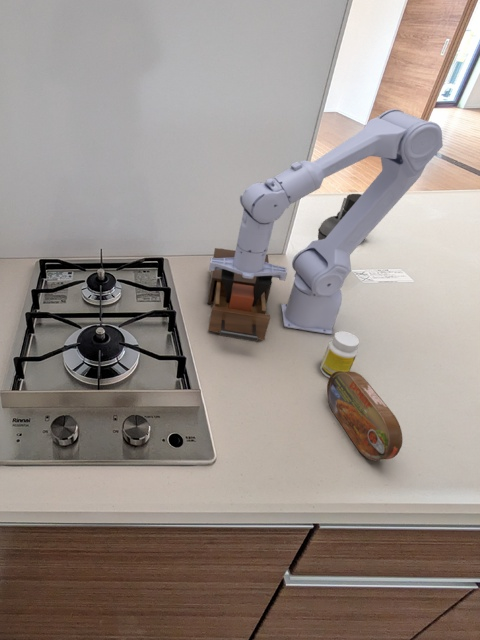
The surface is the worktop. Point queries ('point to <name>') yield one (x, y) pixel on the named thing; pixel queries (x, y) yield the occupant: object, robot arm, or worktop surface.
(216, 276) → the cabinet
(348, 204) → the ink bottle
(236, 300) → the block
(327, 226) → the beverage cup
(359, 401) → the tin
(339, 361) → the supplement bottle
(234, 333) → the drawer
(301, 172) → the robot arm
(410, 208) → the worktop surface
